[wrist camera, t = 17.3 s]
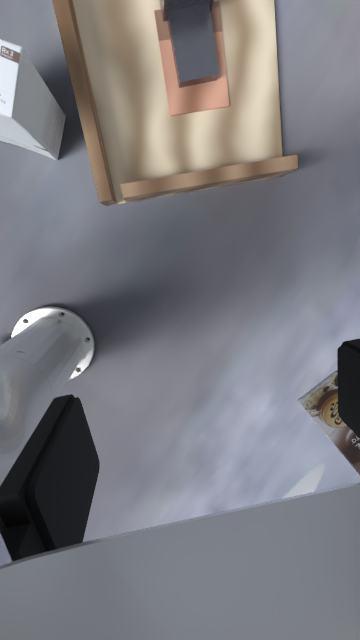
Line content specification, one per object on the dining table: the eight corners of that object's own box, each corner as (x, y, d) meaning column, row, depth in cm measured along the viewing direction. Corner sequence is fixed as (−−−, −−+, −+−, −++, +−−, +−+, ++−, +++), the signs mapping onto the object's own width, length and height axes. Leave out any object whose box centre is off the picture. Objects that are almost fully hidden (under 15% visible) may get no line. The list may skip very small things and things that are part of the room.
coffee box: (335, 369, 53) (410, 425, 37) (352, 391, 54) (431, 454, 39) (295, 400, 54) (352, 466, 38) (313, 421, 55) (375, 492, 40)
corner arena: (106, 206, 41) (99, 201, 36) (53, -28, 34) (34, -78, 28) (281, 176, 42) (299, 167, 37) (268, -59, 34) (289, -112, 29)
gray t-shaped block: (159, 1, 34) (160, -46, 29) (208, -9, 34) (218, -57, 29) (175, 88, 37) (179, 62, 31) (220, 79, 37) (232, 51, 31)
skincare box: (-3, 140, 38) (-97, 83, 24) (3, 89, 36) (-93, -4, 22) (62, 162, 39) (10, 121, 25) (70, 113, 38) (20, 41, 24)
